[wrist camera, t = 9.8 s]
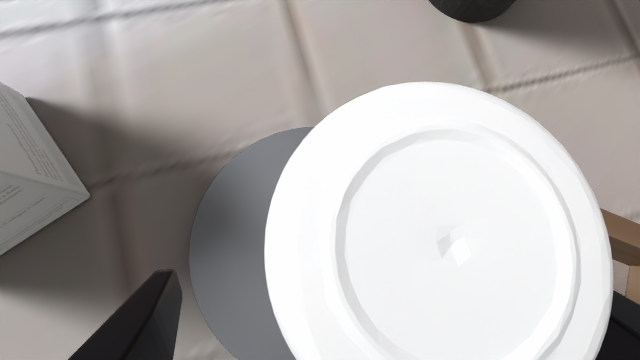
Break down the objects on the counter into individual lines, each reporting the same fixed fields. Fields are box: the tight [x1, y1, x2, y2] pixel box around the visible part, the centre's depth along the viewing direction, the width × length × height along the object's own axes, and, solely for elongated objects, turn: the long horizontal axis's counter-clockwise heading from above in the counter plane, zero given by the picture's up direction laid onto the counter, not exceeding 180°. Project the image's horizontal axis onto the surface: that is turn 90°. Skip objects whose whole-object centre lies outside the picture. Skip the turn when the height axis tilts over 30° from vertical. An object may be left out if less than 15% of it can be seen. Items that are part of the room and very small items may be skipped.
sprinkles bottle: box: [264, 82, 613, 360], centre depth 10 cm, size 5×5×13 cm
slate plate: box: [189, 127, 314, 360], centre depth 17 cm, size 13×13×1 cm
